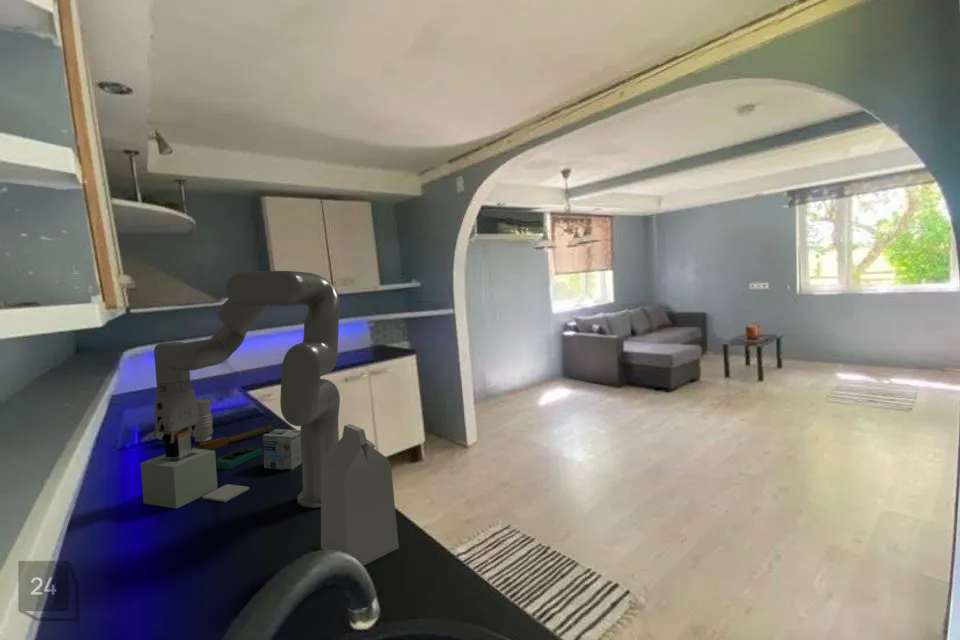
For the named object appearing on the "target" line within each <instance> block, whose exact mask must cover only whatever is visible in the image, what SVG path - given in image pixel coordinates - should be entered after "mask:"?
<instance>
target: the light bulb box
mask: <svg viewBox="0 0 960 640" xmlns="http://www.w3.org/2000/svg"><path fill="white" fill-rule="evenodd" d="M300 431H301V429H299V430H298V429H297V430H296V429H279V428H275V429H273V431H271V432H269V433H264V434H262V444H263V445H262V451H263V466H264V468H265V469H275V470H284V469H293V470H295V469H296V468H295V467H297V466H298V465H300V464H301V463H302V458H301V438H300ZM300 466H301V465H300ZM298 467H299V466H298ZM298 467H297V468H298ZM294 468H295V469H294Z"/></svg>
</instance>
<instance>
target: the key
mask: <svg viewBox="0 0 960 640" xmlns="http://www.w3.org/2000/svg"><path fill="white" fill-rule="evenodd" d="M190 433H191V431H190V430H179V431H176V432H175V442H177V452H178V456H177V457H166V458H167V461H172V462H178V461H180V460H183V459H185V458H188V457H191V456H192V452H191V441H192V438H191V439H190ZM168 436H169V437H170V434H168Z"/></svg>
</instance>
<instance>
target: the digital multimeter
mask: <svg viewBox="0 0 960 640" xmlns="http://www.w3.org/2000/svg"><path fill="white" fill-rule="evenodd" d="M260 454H262V455H263V448H261V447H258V446H252V445H250V446H244V447H242V448H240V449H237V450H235V451H233V452H230V453H228V454H225V455H222V456H221V457H218V458H216V470H231V469H234V468H235V467H237V466H239V465H241V464H243V463H246V462H248V461H250V460H252V459H251V458H253V457H255V458H257V457H259V456H261V455H260ZM258 455H259V456H258ZM256 456H257V457H256ZM249 459H250V460H249ZM253 459H254V458H253Z"/></svg>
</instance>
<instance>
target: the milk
mask: <svg viewBox="0 0 960 640" xmlns="http://www.w3.org/2000/svg"><path fill="white" fill-rule="evenodd" d="M375 448H376V445H375V444H374V443H373V442H372V441H370V440H368V439H367V436H366V433H365V430H364V429H363V428H361V427H359V426H356V425H353V424H345V425H344V426H343V432H342V437H341V438H340V439H339V441H338V443H337V444H336V445H335V446H334V447H333V449H332V450H331V451H330V452H329V453H328V454H327V456H326V457H325V458H324V460H323V462H322V465H321V507H320V549H321V550H322V549H339V550H342V551H345V552H347V553H349V554H351V555H352V556H354V557H355V558H357V559H358V560H359V561H360V562H361V563H362V564H363V565H364V566H366V565H368V564H371V563H372V562H374V561H376V560H379V559H380V558H382V557H384V556H386V555H388V554H389V553H392V552H394V551H395V550H397V549H399V548H400V545H399V538H398V537H399V536H398V535H399V534H398V525H397V515H396V514H397V513H396V506H395V505H396V504H395V493H394V492H395V491H394V482H393V474H392V473H393V472H392V471H393V470H392V466H391V462H390V460H389V459H388V458H387V457H386V455H384V454H382V453H381V452H380V451H378V450H377V449H375Z"/></svg>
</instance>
